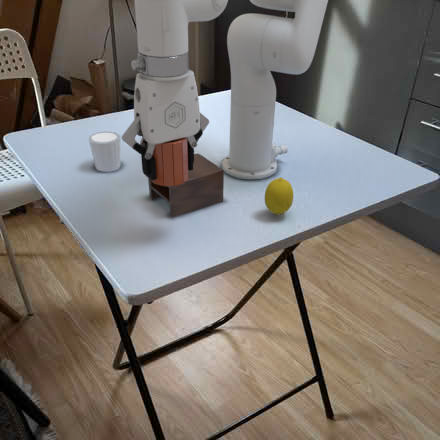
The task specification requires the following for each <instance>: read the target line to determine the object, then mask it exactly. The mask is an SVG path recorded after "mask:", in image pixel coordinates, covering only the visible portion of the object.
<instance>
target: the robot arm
mask: <svg viewBox="0 0 440 440" xmlns="http://www.w3.org/2000/svg"><path fill="white" fill-rule="evenodd" d="M249 1H250V3H251V4H253V5H254V6H256V7H259V8H263V9H268V10H274V11H275V10H276V11H284V12H291V13H294V18H290V17H285V16H277V15H272V14H271V15H270V14H264V13H243V14H241V15H239V16H237V17H235V18H234V19H233V20H232V22H231V23H230V25H229V27H228V31H227V36H226V47H227V53H228V59H229V67H230V108H229V109H230V114H229V150H228V151H229V152H228V155H227V156H226V157H225V158H223V160H222V162H221V167H222V168H221V169H223V170H224V173H225V174H227V175H229V176H231V177H234V178H236V179H242V180H260V179H261V180H262V179H265V178H268V177H271V176H273V175H275V173H276V172H277V170H278V162H277V161H276V159H275V158H277V157H278V156H281V155H284V154H286V153H288V150H289V149H288V145H286V144H282V145H279V146H277V145H276V143H273V138H274V126H275V115H276V101H277V87H276V86H277V85H276V81H275V79H274V77H273V74H272V72H276V73H282V74H288V75H301V74H303V73H305V72H306V71H308V69H309V68H310V67H311V64H312V62H313V60H314V57H315V54H316V49H317V45H318V43H319V38H320V34H321V31H322V26H323V23H324V22H323V21H324V19H325V16H326V15H325V14H326V11H327V6H328V3H329V0H249ZM228 2H229V0H134V12H135V13H134V14H135V23H136V25H135V27H136V39H137V53H136V55H137V58H135V59H133V60H131V62H130V66H131V68H132V70H133V71H136V70H137V71H138V72H139V73H136V77H135V82H134V83H135V84H134V94H133V118H134V120H133V121H132V122H131V123H130V125H129V126H128V127H127V128H126V130H125V131H124V133H123V134H122V136H121V140H122V141H123V142H124V143H125V144H127V145H128V146H129V147H130V148H131V149H132V150H134V151H135V152H136V153H138V154H139V155H140V156H141V157H140V159H141V160H140V161H141V170H142V173H143V175H144V176H145V177H147V179H148V178H149V179H150V180H152V181H154V180H156V163H155V158H153V157H152V154H153V151H154V148H155V144H161V143H165V142H170V141H174V140H178V139H182V138H186V137H187V145H188V170H190V171H191V170H193V163H194V154H195V148H196V147H198V142H199V140H200V139H201V137H202V136H203V135H204V134H203V133H204V131H205V130H206V128H207V127H208V125H209V124H210V120H209V119H208V118H207V117H206V116H205V115H204V114H203V113H201V111H200V99H199V92H198V85H197V82H196V81H197V80H196V77H195V72H194V70H191V69H190V63H189V62H190V61H189V55H190V54H189V23H193V22H195V23H196V22H209V21H212V20H215V19H217V18H218V17H219V16H220V15H221V14H222V13H223V12H224V10H225V9H226V8H227V5H228ZM137 136H138V137H141V139H140V141H139V142H137V141H136V139H135V138H136V137H137Z"/></svg>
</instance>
